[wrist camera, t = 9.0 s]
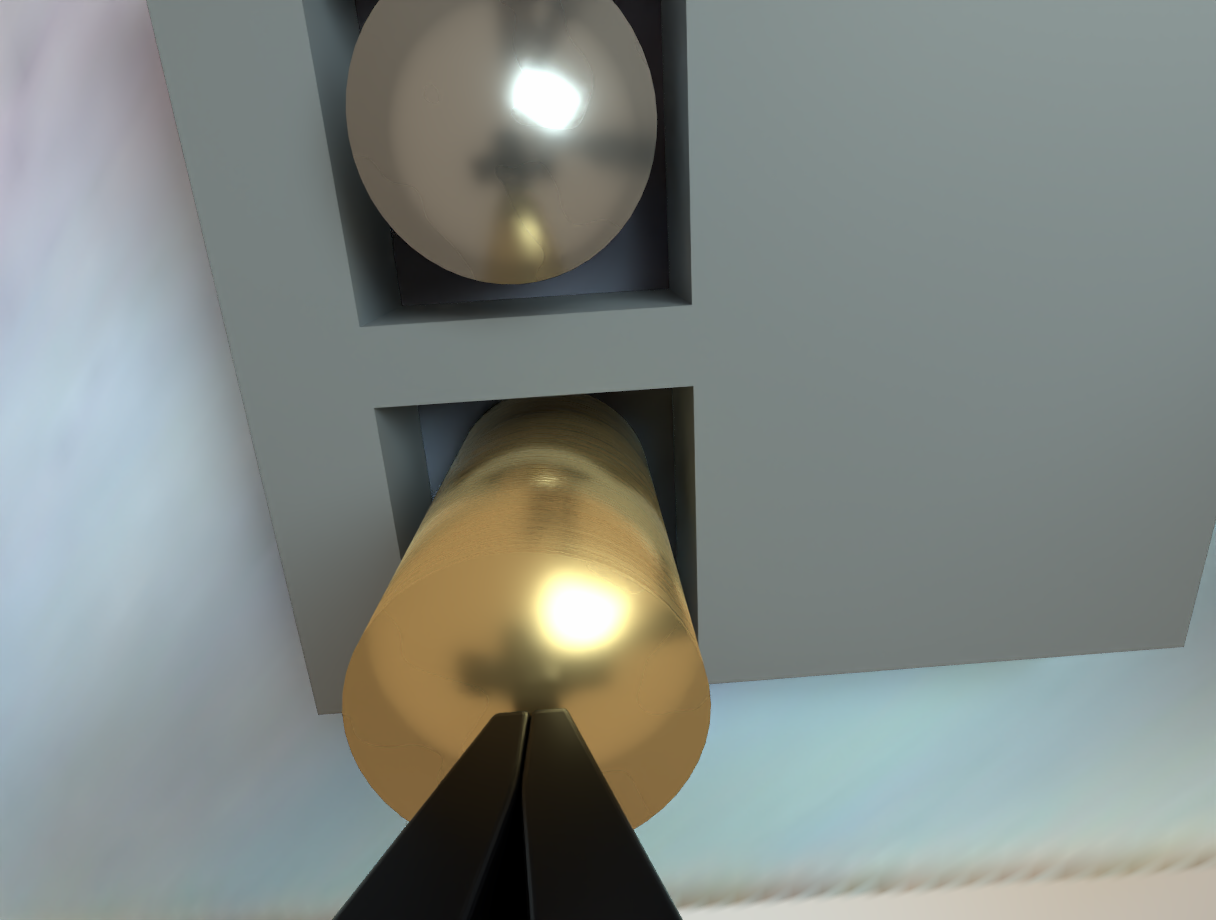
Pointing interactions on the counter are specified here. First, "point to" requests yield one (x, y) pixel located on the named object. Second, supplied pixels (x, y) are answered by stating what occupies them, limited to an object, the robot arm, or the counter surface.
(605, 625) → the brass cylinder
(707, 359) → the jig
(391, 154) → the chrome sphere
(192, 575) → the counter surface
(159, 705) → the counter surface
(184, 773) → the counter surface
